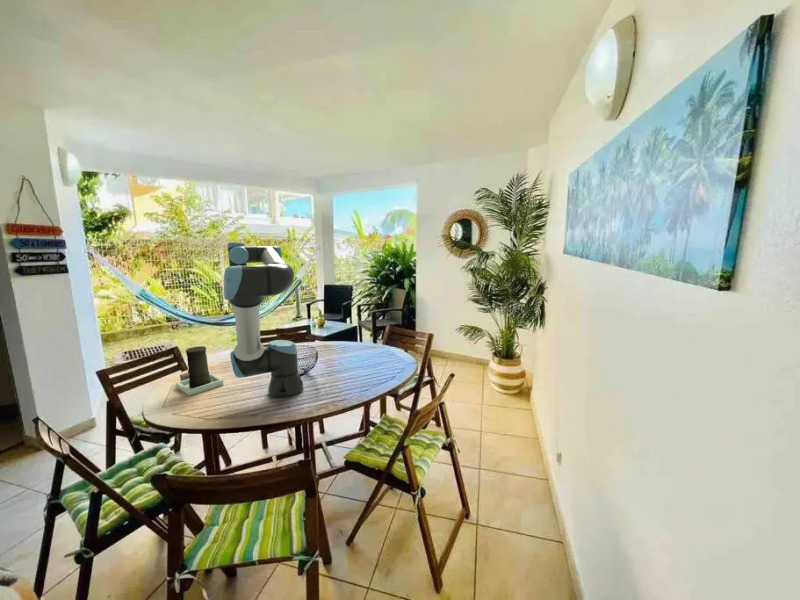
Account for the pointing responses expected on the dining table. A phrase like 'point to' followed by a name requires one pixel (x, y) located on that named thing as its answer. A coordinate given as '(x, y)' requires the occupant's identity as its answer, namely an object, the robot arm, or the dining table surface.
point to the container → (198, 366)
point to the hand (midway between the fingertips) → (243, 317)
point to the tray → (189, 391)
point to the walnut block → (184, 376)
